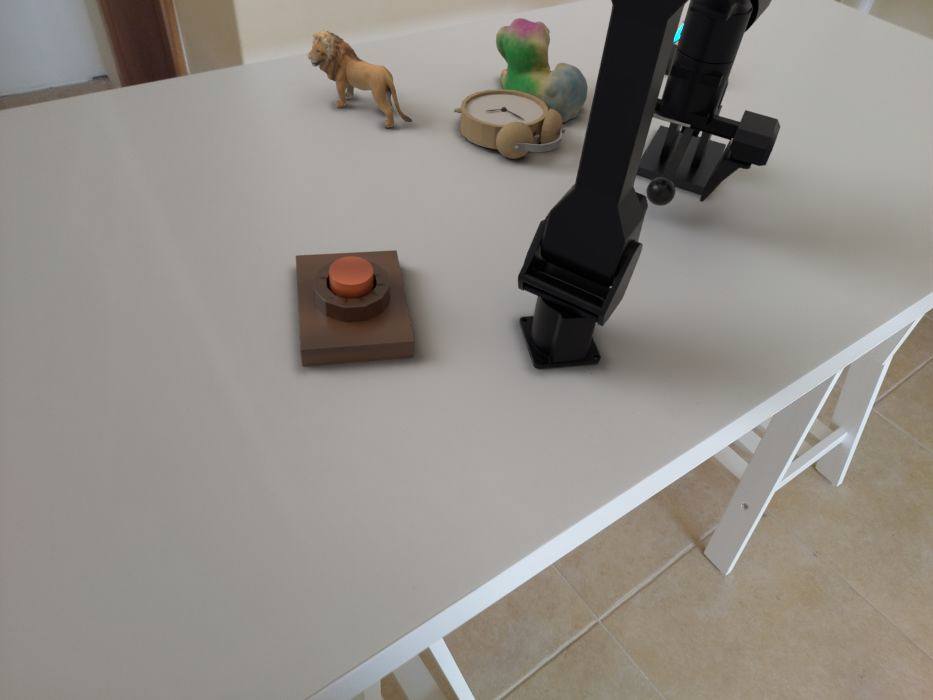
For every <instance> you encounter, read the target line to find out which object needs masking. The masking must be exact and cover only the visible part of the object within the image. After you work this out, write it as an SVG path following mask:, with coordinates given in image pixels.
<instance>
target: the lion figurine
mask: <svg viewBox="0 0 933 700" xmlns="http://www.w3.org/2000/svg"><path fill="white" fill-rule="evenodd" d="M311 45H312V47H311V50H310V51H309V52H308V53H307V55H306V56H307V58H308V60H309V61H310V62H311V67H314V68H316V67H318V68H319V70H320V71H322V72H323V73H325V74H326V76H327V79H328V80H331V81H333V82H335V86H336V87H335V88H336V91H337V94H338V97H339V100H336V101H335V103H334V106H335V107H336V108H340V109H341V108H344V107H346V106H347V103H348V102H347V100H351V99H353V98H354V94H355V93H354V91H355V88H356V89H357V90H361V91H364V92H366V91H371V95H372V97H373V100H374V101H375V103H376V105H377V107H378V108H379V109H380V111H381V112H382V113H383V114H384V115H385V117H386V119H384V121H383V126H384V127H385V128H388V129H389V128H391V127H393V126H394V124H395V118H394V113H393V110H392V108H393V103H394V106H395V109H396V112H397V113H398V115H399V117H401V119H402V120H403V121H404V122H405V123H412V122H413V119H412V118H411V117H410V116H408V115H407V114H404V113H403V111H402V109H401V106H400V103H399V100H398V94H397V89H396V87H395V83H394V77H393V74H392V73H391V71H390V70H389V69H388V68H387V67H386V66H385V65H384V66H383V65H382V64H381V65H379V64H374V63H371V62H367V61H365V60H363V59H361V58H359V56H358V55H357V54H356V52H355V50H354V49H353V47H352V46H351V45H350V44H349V43H348V42H346V41H345V40H344V38H342V37H340V36H339V35H336V34H335V33H334V32H330V31H329V30H328V31H327V30H320V31H318V32H315V33H312V43H311ZM392 100H393V102H392Z"/></svg>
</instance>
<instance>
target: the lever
mask: <svg viewBox="0 0 933 700" xmlns="http://www.w3.org/2000/svg"><path fill="white" fill-rule="evenodd" d="M680 132H681V133H683V134H682V136H681V138H680V140H679V142H678V144H677V146H676V149H675V151H674V153H673V155H672V157H671V159H670V161H669V163H668V165H667V167H666V170H665V172H664V174H663V176H662V177H658V178H655V179H653V180H651V181H650V182H649V183H648V185H647V187H646V190H645V191H646V197H647V200H648V201H649V202H650V203H651V204H652V205H654V206H659V207H663V206H667V205H668V204H670V203H671V202H672V201H673V200H674V199H675V196H676V190H677V189H676V187H675V185H674V183H673V182H672V179H673V177H674V175H675V173H676V170H677V168H678V166H679V164H680V162H681V160H682V157H683V155H684V153H685V151H686V149H687V147H688V145H689V142H690V140H691V138H692V136H694V137H698V136H699V135H700V133H701V131H698V130H694V129H691V128H687V127H684V126H681V128H680Z"/></svg>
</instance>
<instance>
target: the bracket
mask: <svg viewBox="0 0 933 700" xmlns="http://www.w3.org/2000/svg"><path fill="white" fill-rule="evenodd" d="M722 108H723V105H722V104H721V105H720V107H719V109H718V108H717V111H716V114H715V115H718V116H720V114H721V111H722ZM681 128H682V126H681V125H677V124H674V123H671V122H669V126H665V125H659V127H658V129H657V131H656V132H655V133H654V135H653V137H652V139H651V141H650V142H649V144H648V145H647V148H646V149H645V151H644V152H643V153H642V157H641V160H640V164H639V167H638V171H637V174H636V176H639V177H643V178H645V179H647V180H651V181H652V180H653V179H655V178H658V177H662V176H663V174H664V172H665V170H666V167H667V165H668V163H669V161H670V159H671V157H672V155H673V153H674V151H675V149H676V146H677V144H678V142H679V140H680V138H681V136H682V134H683V133H681V132H680V131H681ZM712 136H713V135H711V134H708V133H704V132H701V135H700V136H699V135H698V137H694V136H692V138H691V140H690V142H689V145H688V147H687V149H686V151H685V153H684V155H683V157H682V160H681V162H680V164H679V166H678V168H677V170H676V173H675V175H674V177H673V179H672V182H673V183H674V185H675V188H677V189H680V190H683V191H686V192H689V193H693V194H696V195H699V196H701V195H702V192H703V190H704V188H705V186H706V184H707V182H708V180H709V178H710V176H711V174H712V172H713V171H714V169H715V167H716V165H717V163H718V162H719V160H720V158H721V156H722V154H723V152H724V150H725V148H726V147H727V143H722V142H719V141H717V140H712Z"/></svg>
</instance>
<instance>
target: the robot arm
mask: <svg viewBox="0 0 933 700" xmlns="http://www.w3.org/2000/svg"><path fill="white" fill-rule="evenodd" d="M772 1H773V0H610V2H611V12H610V16H609V22H608V26H607V30H606V36H605V41H604V45H603V49H602V55H601V59H600V64H599V70H598V74H597V77H596V83H595V88H594V92H593V97H592V103H591V106H590V112H589V116H588V120H587V125H586V130H585V134H584V140H583V144H582V149H581V154H580V158H579V163H578V168H577V171H576V172H577V173H576V178H575V182H574V184H573V185H572V186H571V187H570V188H569V189H568V190H567V191H566V192H565V194H564V195H563V196H562V197H561V198H560V199H559V200H558V201H557V202H556V203H555V204H554V206H553V207H552V208H551V209H550V210H549V211H548V213H547V215H546V217H545V218H544V219H542V220H541V221H540V222H539V224H538V226H537V229H536V231H535V234H534V236H533V238H532V241H531V242H530V245H529V247H528V250H527V252H526V255H525V258H524V262H523V265H522V267H521V269H520V271H519V273H518V275H517V288H518V289H519V290H521V291H523V292H524V291H525V292H527V293H530V294H532V295H535V296H536V302H535V307H534V311H533V315H526V316H521V317H519V320H518V324H519V327H520V330H521V333H522V336H523V339H524V342H525V345H526V348H527V351H528V354H529V357H530V360H531V363H532V365H533V367H534V368H536V369H549V368H551V369H552V368H563V367H573V366H584V365H585V366H586V365H596V364H597V365H598V364H599V363H601V360H602V356H601V353H600V351H599V348H598V346H597V344H596V342H595V340H594V337H593V335H594V331H595V329H596V325H599V326H600V327H604V326H605V324H606V323H607V322H608V320H609V319H610V317H611V316H612V315H613V314H614V312H615V310H616V309H617V308H618V306H619V305H620V304H621V302H622V301H623V299H624V296H625V294H626V292H627V289H628V286H629V285H630V282H631V279H632V277H633V275H634V271H635V269H636V267H637V264H638V261H639V259H640V256H641V254H642V250H643V247H644V245H643V243H642V242H639V240H640V236H641V233H642V228H643V224H644V221H645V216H646V214H647V210H648V208H649V204H648V197H647V195H644V194H642V193H639V192H638V191H637V192H636V188H635V186H634V185H635V181H636V178H637V175H636V174H637V171H638V167H639V164H640V160H641V158H642V156H643V154H644V150H645V146H646V142H647V140H648V139H647V138H648V135H649V131H650V129H651V128H650V127H651V124H652V121H653V118H654V119H658V120H661V121H664V122H668V123H670V122H671V123H674V124H677V125H681V127H682V126H684V127H687V128H691V129H694V130H698V131H700V133H702V132H704V133H708V134H711V135H712V136H715V137H718V138H722V139H725V140H727V141H728V140H729V141H728V143H727V144H726V147H725V149H724V152H723V154H722V156H721V158H720V160H719V162H718V163H717V165H716V167H715V169H714V171H713V172H712V174H711V176H710V178H709V180H708V182H707V184H706V186H705V188H704V190H703V192H702V195H700V199H699V201H700V202H702V203H704V202H705V200H707V198H708V197H709V196H710V195H711V194H712V193H713V192H714V191H715V190H716V189H717V187H719V186H720V184H721V183H722V182H723V181H724V180H726V179H728V177H729V176H731V175H732V174H733V173H735V172H736V171H737V170H739V169H743V170H749V169H751V167H752V165H754V166H758V167H762V166H767V164H768V162H769V159H770V156H771V154H772V151H773V150H774V147H775V144H776V141H777V140H778V139H777V138H778V136H779V133H780V130H781V125H780V122H779V119H778V118H776V117H772V116H769V115H764V114H761V113H757V112H755V111H751V110H747V109H745V110H744V112H743V114H742V117H741V119H740V121H739V120H735V119H732V118H728V117H725V116H721V115H719V116H718V115H715V114H716V111H717V108H718V109H719V107H720V105H722V103H723V100H724V97H725V94H726V91H727V89H728V87H729V77H730V74H731V72H732V69H733V66H734V63H735V60H736V57H737V55H738V52H739V49H740V46H741V43H742V40H743V37H744V36H745V33H746V32H747V31H748V30H749V29H750V28H751V27H752V26H753V25H754V24H755V22H756V21H757V20H758V19H759V18H760V17H761V16H762V15H763V14H764V12H765V11H766V10H767V9H768V8H769V7H770V5H771V3H772ZM688 2H689V3H688ZM687 3H688V7H687V10H686V13H685V17H684V24H683V23H682V24H683V27H682V31H681V34H680V37H679V41H677V43H676V44H673V43H674V40H675V36H676V33H677V32H678V30H679V26H680V22H681V19H682V15H683V11H684V8H685V6H686V4H687ZM665 76H667V79H666V81H665V85H664V89H663V92H662V96H661V98H659V96H660V93H661V90H662V85H663V82H664V77H665Z"/></svg>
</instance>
